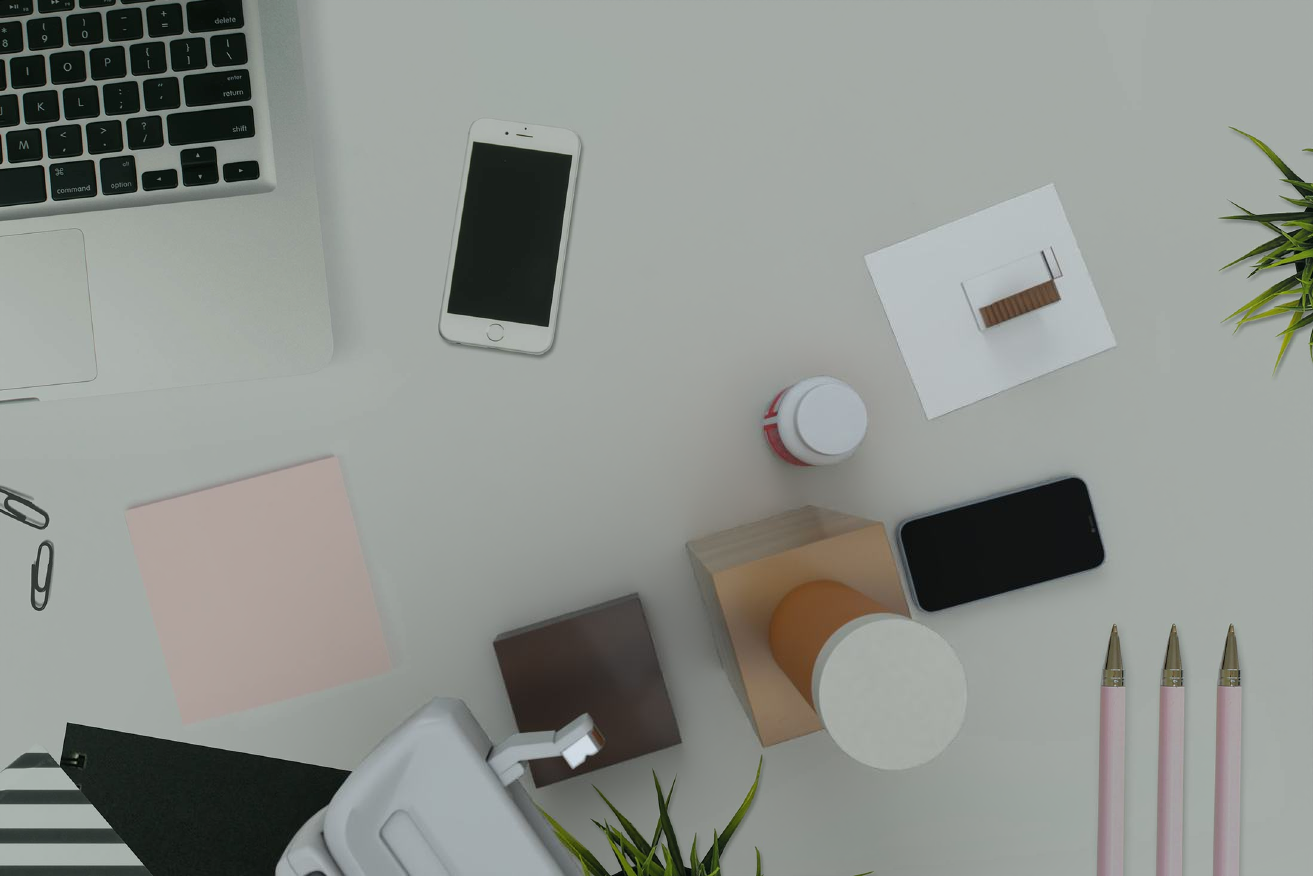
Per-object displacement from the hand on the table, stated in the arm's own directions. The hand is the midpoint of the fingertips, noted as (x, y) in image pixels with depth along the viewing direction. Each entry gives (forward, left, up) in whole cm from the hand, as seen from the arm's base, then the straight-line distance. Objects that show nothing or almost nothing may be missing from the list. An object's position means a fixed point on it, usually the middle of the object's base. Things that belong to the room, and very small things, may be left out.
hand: (654, 811), depth 44 cm
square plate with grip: (+20, -34, -28) cm, 48 cm away
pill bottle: (+15, -17, -28) cm, 36 cm away
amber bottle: (+4, -11, -8) cm, 14 cm away
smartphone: (+2, -29, -28) cm, 40 cm away
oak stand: (+4, -11, -28) cm, 30 cm away
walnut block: (+1, +4, -28) cm, 28 cm away
